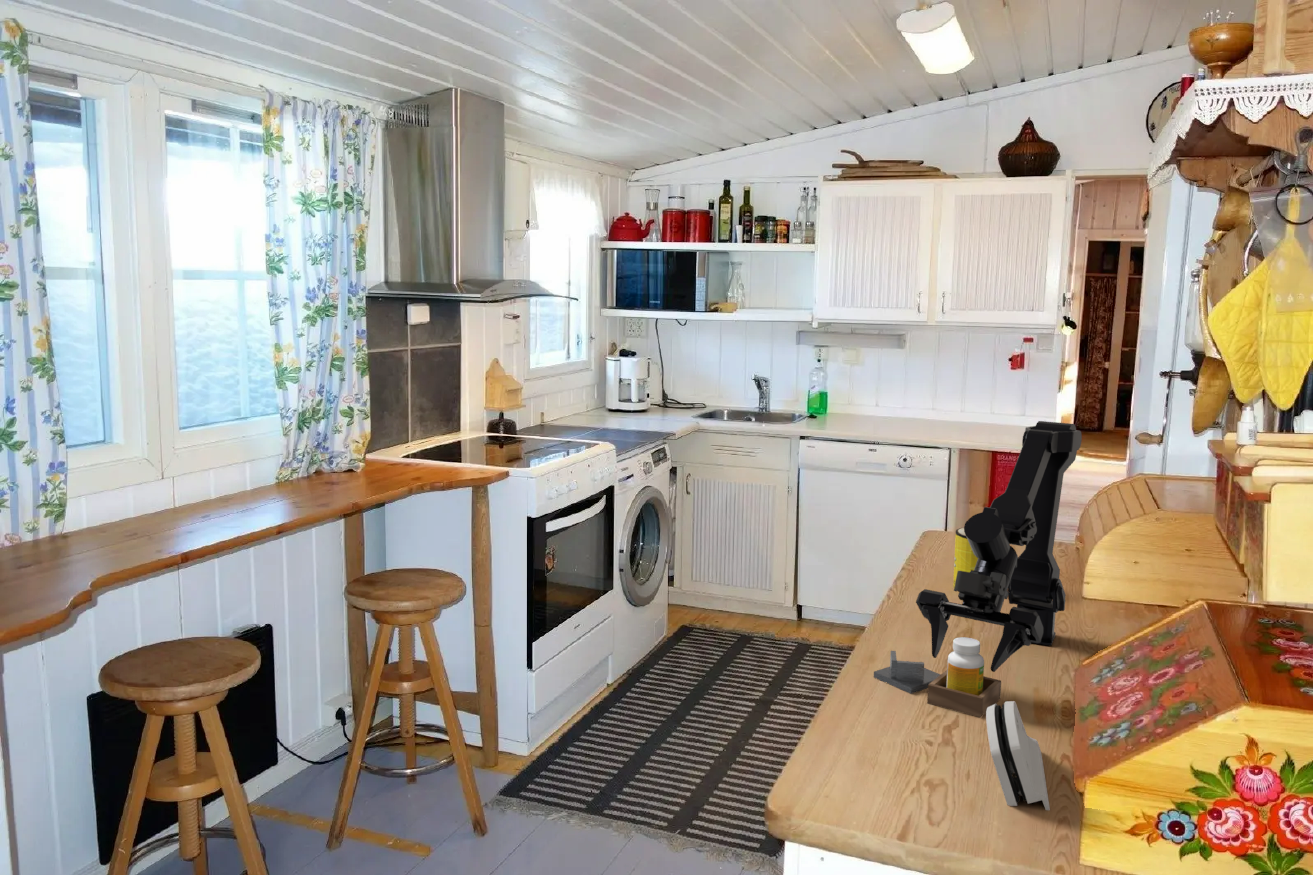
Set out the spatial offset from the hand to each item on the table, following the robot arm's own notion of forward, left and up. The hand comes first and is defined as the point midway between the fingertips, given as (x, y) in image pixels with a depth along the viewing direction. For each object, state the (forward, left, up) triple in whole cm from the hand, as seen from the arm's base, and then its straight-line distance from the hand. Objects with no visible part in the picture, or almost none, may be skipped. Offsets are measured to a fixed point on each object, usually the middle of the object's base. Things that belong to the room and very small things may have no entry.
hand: (962, 663), depth 156 cm
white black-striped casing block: (-11, +20, -7) cm, 23 cm away
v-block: (+9, -6, -7) cm, 13 cm away
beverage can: (+9, -60, -7) cm, 61 cm away
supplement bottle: (0, -1, -7) cm, 7 cm away
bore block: (0, -1, -7) cm, 7 cm away
